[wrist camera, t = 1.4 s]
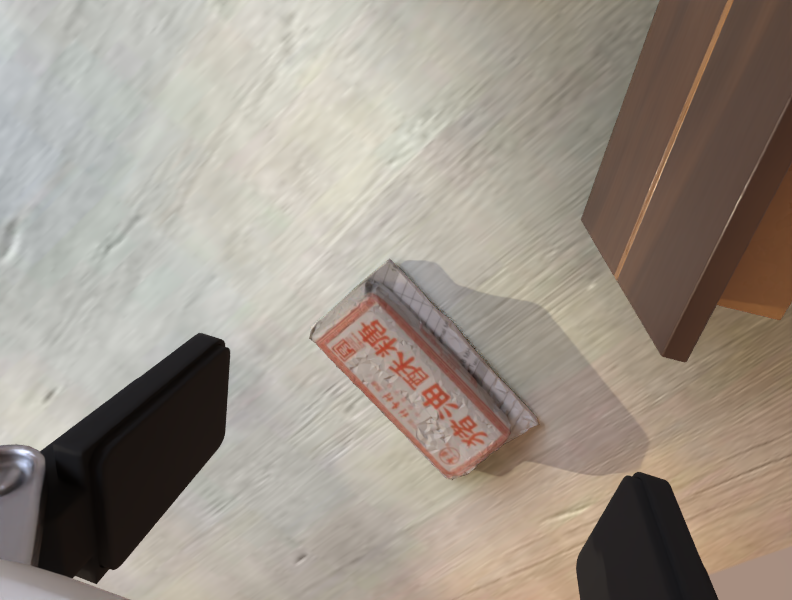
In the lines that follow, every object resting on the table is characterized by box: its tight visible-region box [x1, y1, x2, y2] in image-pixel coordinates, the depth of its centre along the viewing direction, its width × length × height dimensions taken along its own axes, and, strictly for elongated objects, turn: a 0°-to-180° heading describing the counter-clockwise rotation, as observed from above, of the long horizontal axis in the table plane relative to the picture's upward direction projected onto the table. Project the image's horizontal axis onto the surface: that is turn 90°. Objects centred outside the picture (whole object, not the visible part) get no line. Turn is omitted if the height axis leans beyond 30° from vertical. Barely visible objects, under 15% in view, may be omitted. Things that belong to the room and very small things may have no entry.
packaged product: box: [309, 259, 539, 480], centre depth 37 cm, size 18×5×10 cm
